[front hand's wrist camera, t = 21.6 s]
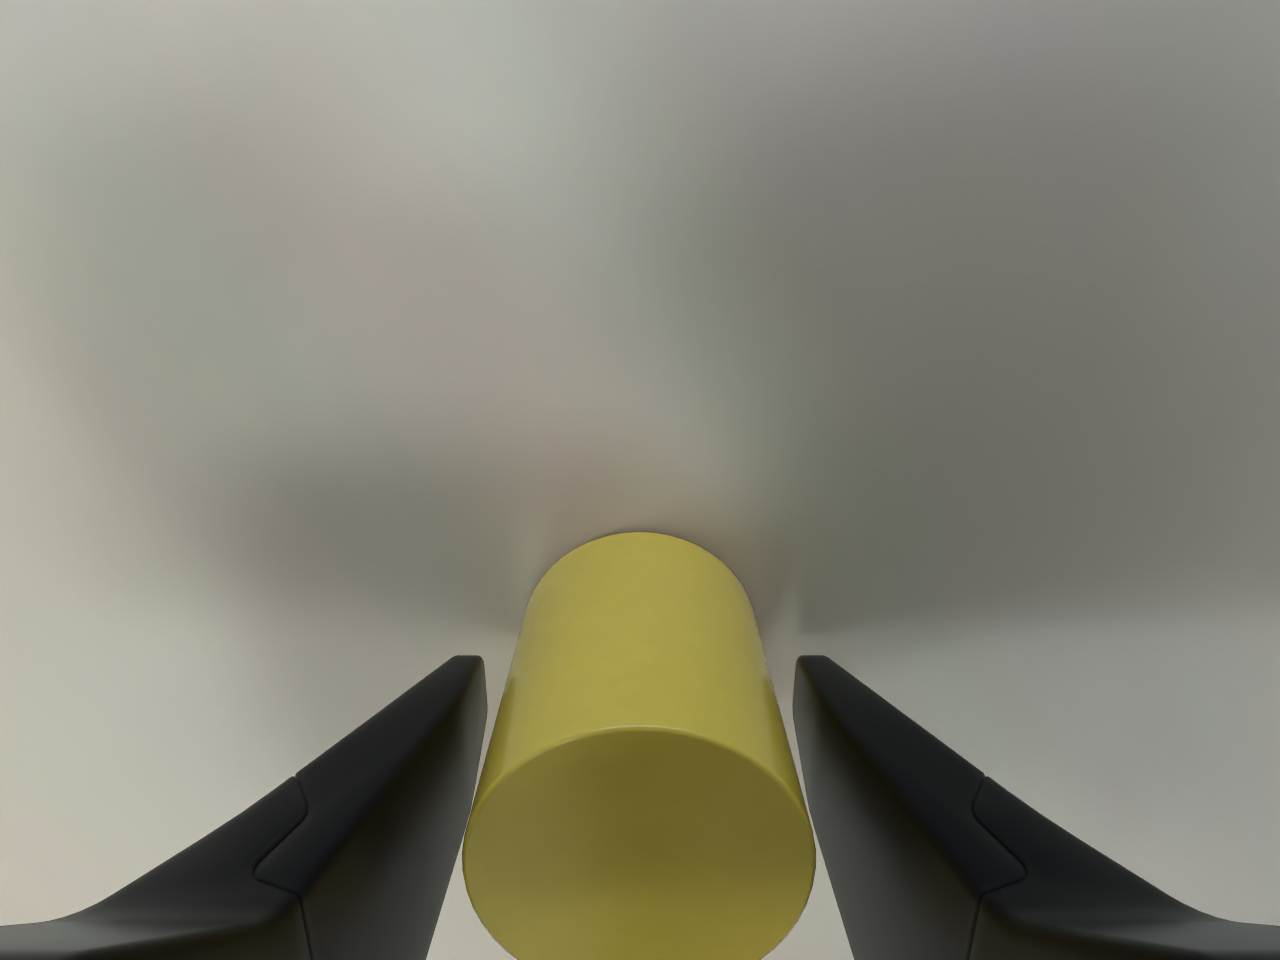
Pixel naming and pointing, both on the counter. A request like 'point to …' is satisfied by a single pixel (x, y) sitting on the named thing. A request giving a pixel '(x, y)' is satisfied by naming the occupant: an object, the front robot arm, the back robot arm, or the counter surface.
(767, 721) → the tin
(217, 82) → the counter surface
